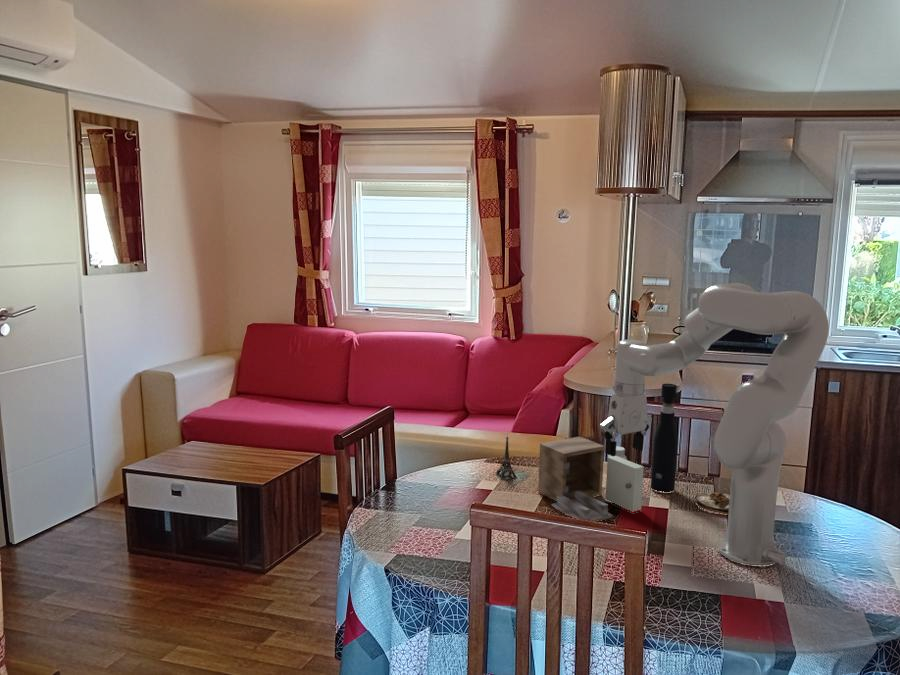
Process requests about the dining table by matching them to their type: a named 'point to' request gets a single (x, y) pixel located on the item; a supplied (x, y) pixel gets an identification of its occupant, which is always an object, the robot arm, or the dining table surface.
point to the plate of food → (714, 502)
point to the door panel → (624, 483)
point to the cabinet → (573, 477)
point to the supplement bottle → (619, 452)
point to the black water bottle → (665, 444)
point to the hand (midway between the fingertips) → (624, 451)
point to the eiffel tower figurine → (509, 470)
